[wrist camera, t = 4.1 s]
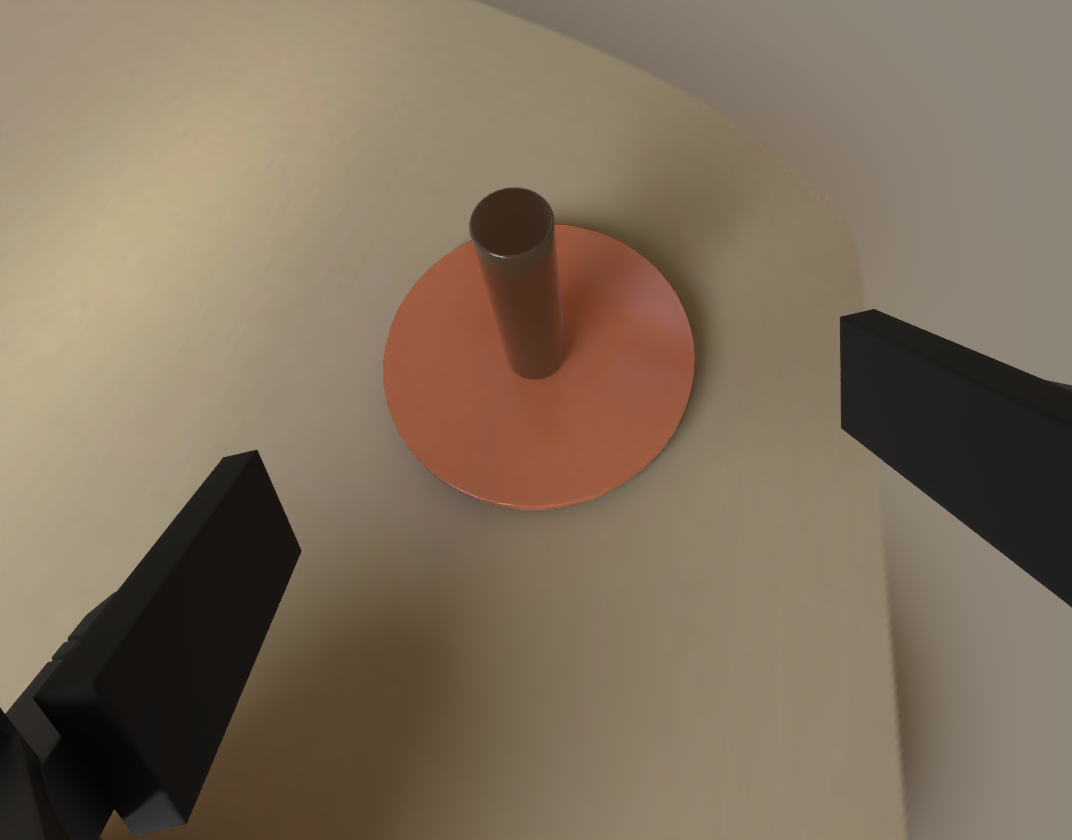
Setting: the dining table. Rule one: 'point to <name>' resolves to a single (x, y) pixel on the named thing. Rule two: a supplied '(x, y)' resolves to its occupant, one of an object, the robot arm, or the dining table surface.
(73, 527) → the dining table surface
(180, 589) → the robot arm
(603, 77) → the dining table surface
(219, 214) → the dining table surface
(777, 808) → the dining table surface
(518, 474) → the lid
